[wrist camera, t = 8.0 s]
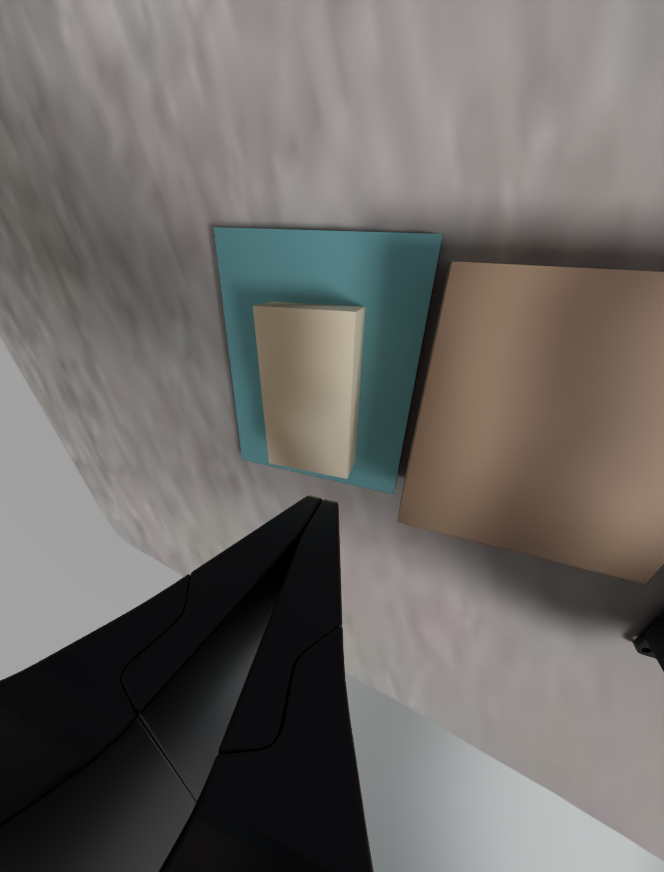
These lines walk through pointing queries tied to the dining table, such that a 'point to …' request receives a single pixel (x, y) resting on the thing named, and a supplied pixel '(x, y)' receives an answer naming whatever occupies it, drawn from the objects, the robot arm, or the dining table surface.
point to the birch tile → (310, 383)
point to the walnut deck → (545, 416)
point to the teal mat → (333, 285)
